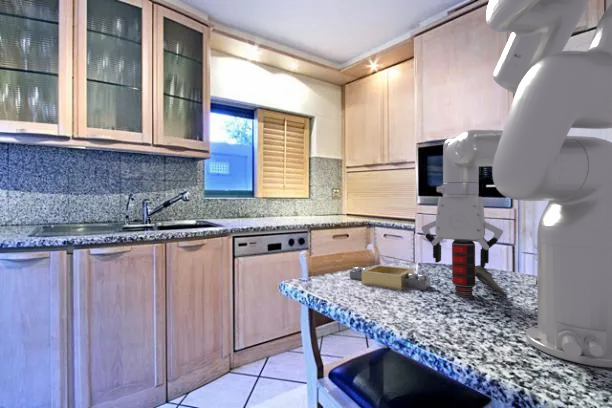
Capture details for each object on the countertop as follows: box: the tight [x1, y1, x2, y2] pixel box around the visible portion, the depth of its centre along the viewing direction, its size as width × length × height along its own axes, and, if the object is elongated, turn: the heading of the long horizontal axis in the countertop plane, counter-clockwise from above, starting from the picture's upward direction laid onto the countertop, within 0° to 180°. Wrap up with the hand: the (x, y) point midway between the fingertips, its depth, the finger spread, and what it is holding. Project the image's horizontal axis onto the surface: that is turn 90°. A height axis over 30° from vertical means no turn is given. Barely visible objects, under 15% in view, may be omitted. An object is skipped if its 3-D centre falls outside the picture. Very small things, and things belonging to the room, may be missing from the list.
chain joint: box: [349, 264, 431, 291], centre depth 87 cm, size 10×21×4 cm, turn 56°
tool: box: [475, 264, 508, 299], centre depth 81 cm, size 21×8×3 cm
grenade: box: [451, 240, 476, 298], centre depth 76 cm, size 6×5×15 cm
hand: (459, 263), depth 77 cm, fingers open, 9 cm apart
